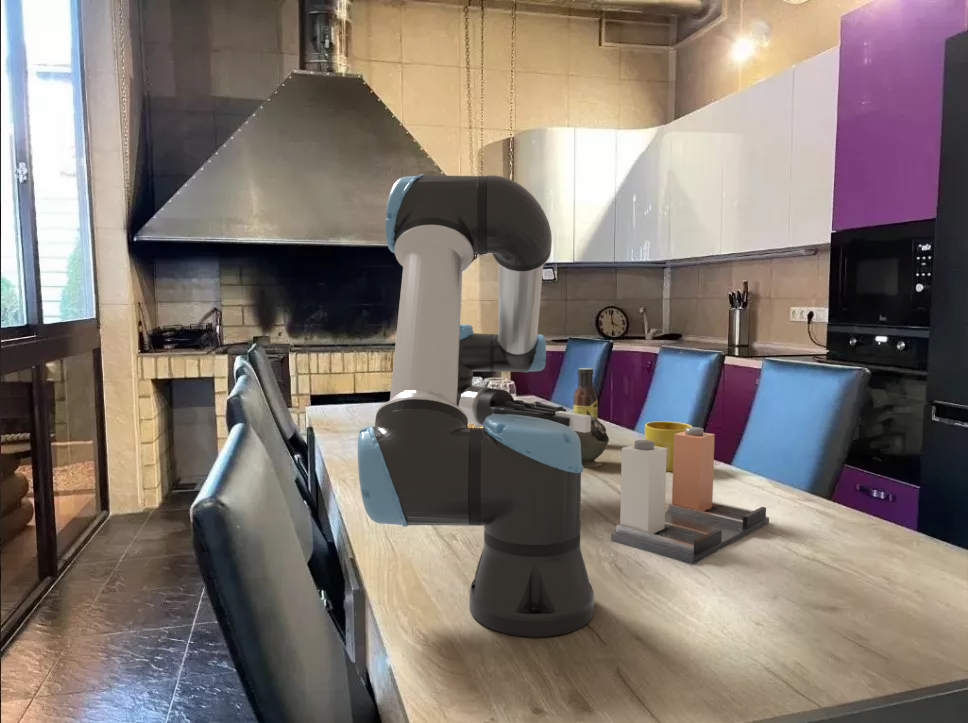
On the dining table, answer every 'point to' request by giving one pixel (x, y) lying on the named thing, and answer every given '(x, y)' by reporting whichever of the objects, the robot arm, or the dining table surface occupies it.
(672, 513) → the dark grey divided tray
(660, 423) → the plant pot
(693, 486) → the orange square bottle
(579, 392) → the sauce bottle
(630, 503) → the white square bottle
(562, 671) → the dining table surface
